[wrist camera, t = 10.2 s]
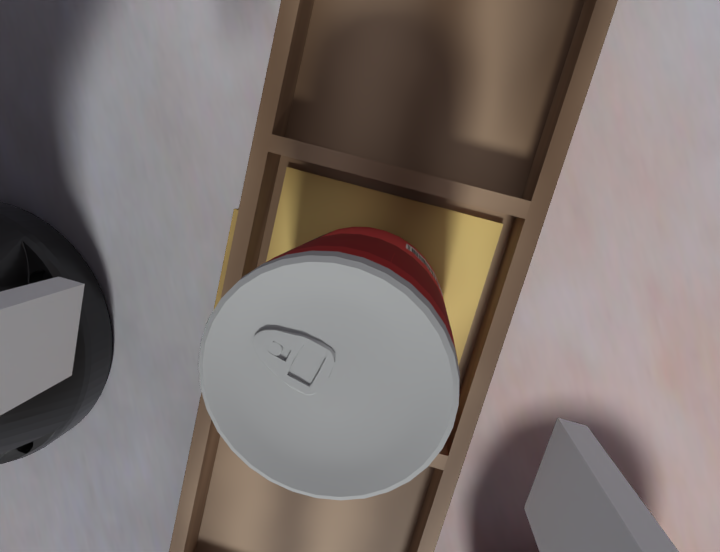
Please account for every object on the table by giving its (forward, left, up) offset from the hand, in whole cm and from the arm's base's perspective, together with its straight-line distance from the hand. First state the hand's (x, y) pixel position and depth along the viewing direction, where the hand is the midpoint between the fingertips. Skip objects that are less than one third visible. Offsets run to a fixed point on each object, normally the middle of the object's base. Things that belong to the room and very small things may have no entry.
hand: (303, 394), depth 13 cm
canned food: (0, 0, -12) cm, 12 cm away
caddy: (0, 0, -13) cm, 13 cm away
